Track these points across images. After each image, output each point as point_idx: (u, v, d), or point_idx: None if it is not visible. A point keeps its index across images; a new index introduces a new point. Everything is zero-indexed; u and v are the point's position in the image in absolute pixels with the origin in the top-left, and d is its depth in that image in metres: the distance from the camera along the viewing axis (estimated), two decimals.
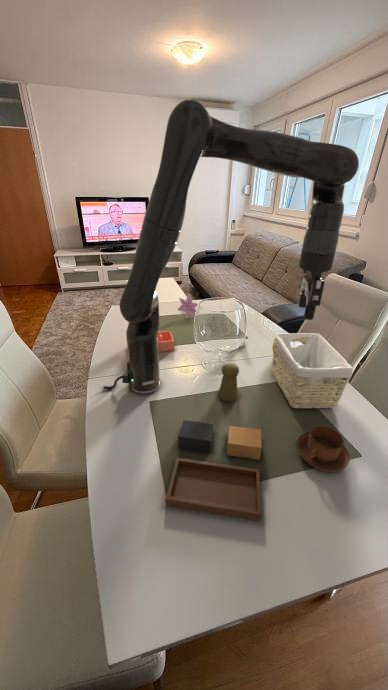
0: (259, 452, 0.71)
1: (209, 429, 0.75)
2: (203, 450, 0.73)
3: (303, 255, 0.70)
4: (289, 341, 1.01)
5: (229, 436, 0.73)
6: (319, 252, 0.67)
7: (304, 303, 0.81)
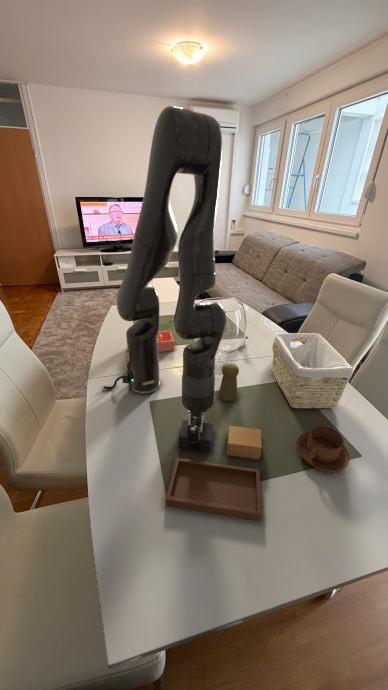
0: (259, 452, 0.71)
1: (209, 429, 0.75)
2: (203, 450, 0.73)
3: (182, 393, 0.68)
4: (289, 341, 1.01)
5: (229, 436, 0.73)
6: (193, 396, 0.65)
7: None
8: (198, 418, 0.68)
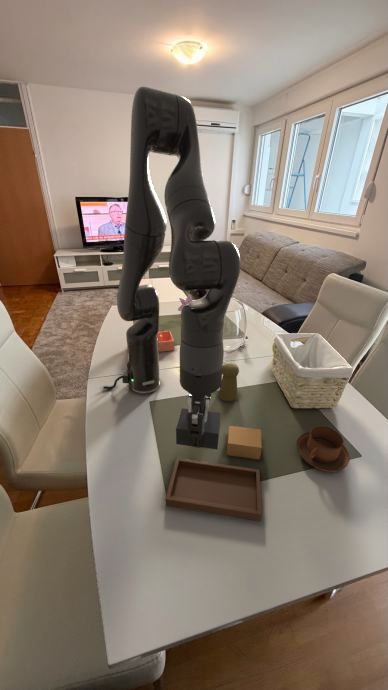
0: (259, 452, 0.71)
1: (216, 419, 0.58)
2: (208, 447, 0.57)
3: (180, 370, 0.51)
4: (289, 341, 1.01)
5: (229, 436, 0.73)
6: (195, 373, 0.49)
7: None
8: (202, 403, 0.51)
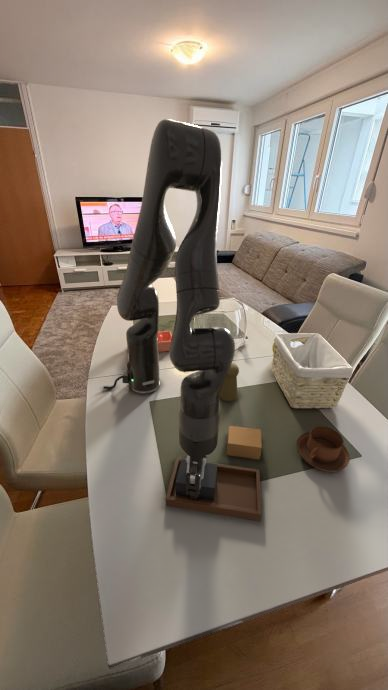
0: (259, 452, 0.71)
1: (212, 472, 0.63)
2: (205, 498, 0.62)
3: (180, 433, 0.56)
4: (289, 341, 1.01)
5: (229, 436, 0.73)
6: (193, 439, 0.53)
7: None
8: (199, 464, 0.56)
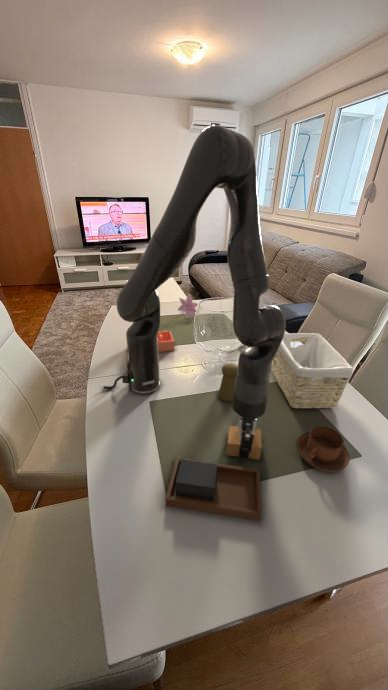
0: (259, 452, 0.71)
1: (212, 472, 0.63)
2: (205, 498, 0.62)
3: (235, 399, 0.67)
4: (289, 341, 1.01)
5: (229, 436, 0.73)
6: (248, 403, 0.64)
7: None
8: (251, 425, 0.66)
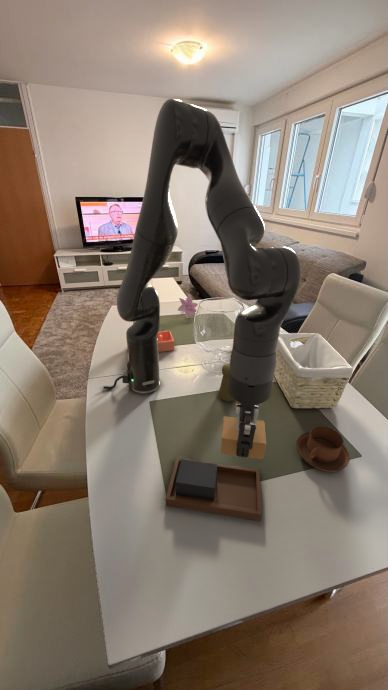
0: (263, 450, 0.54)
1: (212, 472, 0.63)
2: (205, 498, 0.62)
3: (230, 379, 0.50)
4: (289, 341, 1.01)
5: (224, 429, 0.57)
6: (248, 382, 0.47)
7: None
8: (252, 413, 0.50)
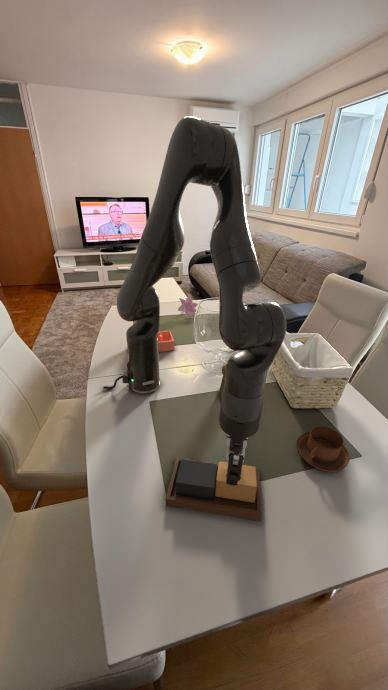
0: (254, 493, 0.59)
1: (212, 472, 0.63)
2: (205, 498, 0.62)
3: (221, 414, 0.55)
4: (289, 341, 1.01)
5: (218, 472, 0.62)
6: (237, 420, 0.52)
7: None
8: (241, 446, 0.55)
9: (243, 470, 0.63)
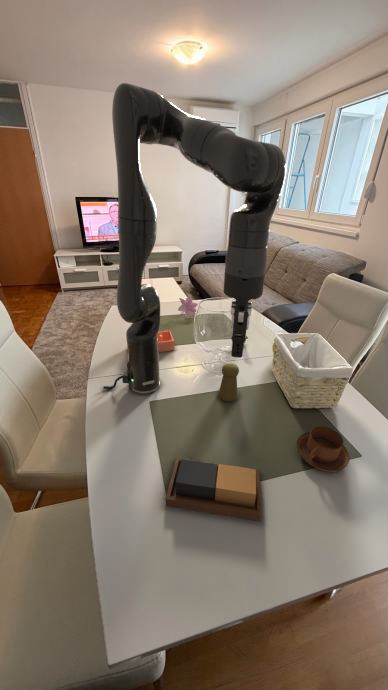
0: (253, 499, 0.59)
1: (212, 472, 0.63)
2: (205, 498, 0.62)
3: (225, 278, 0.55)
4: (289, 341, 1.01)
5: (218, 477, 0.62)
6: (241, 276, 0.53)
7: (239, 333, 0.66)
8: (246, 308, 0.55)
9: (243, 474, 0.63)
